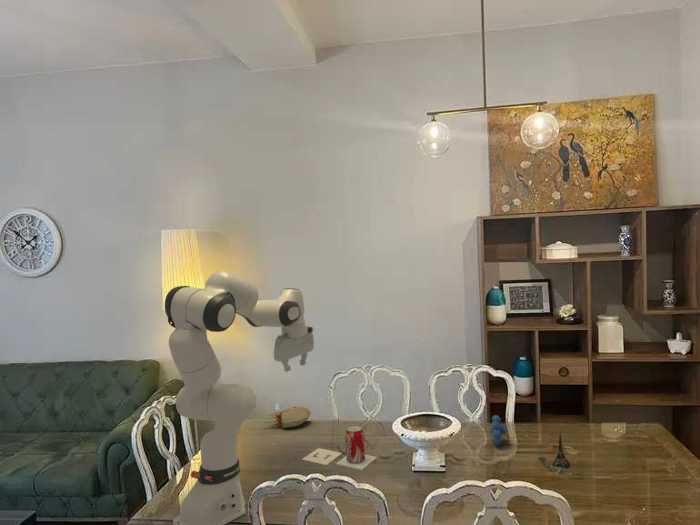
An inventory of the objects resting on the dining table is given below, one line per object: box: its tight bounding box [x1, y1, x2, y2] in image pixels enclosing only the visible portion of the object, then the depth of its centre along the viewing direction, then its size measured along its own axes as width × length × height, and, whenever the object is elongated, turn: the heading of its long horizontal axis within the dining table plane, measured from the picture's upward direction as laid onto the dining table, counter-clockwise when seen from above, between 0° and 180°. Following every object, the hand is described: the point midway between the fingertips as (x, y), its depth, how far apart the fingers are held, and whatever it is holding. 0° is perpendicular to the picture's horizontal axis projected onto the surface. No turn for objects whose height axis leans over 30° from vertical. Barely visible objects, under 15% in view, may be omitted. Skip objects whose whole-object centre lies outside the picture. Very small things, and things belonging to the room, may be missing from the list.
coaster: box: [335, 454, 378, 471], centre depth 187 cm, size 11×11×1 cm
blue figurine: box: [489, 414, 509, 446], centre depth 195 cm, size 12×7×12 cm, turn 164°
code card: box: [301, 447, 343, 466], centre depth 192 cm, size 11×11×1 cm
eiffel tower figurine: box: [537, 431, 584, 476], centre depth 176 cm, size 15×10×13 cm
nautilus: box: [266, 406, 312, 429], centre depth 227 cm, size 8×22×15 cm
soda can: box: [344, 424, 366, 463], centre depth 187 cm, size 7×7×12 cm
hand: (295, 368), depth 189 cm, fingers open, 8 cm apart
